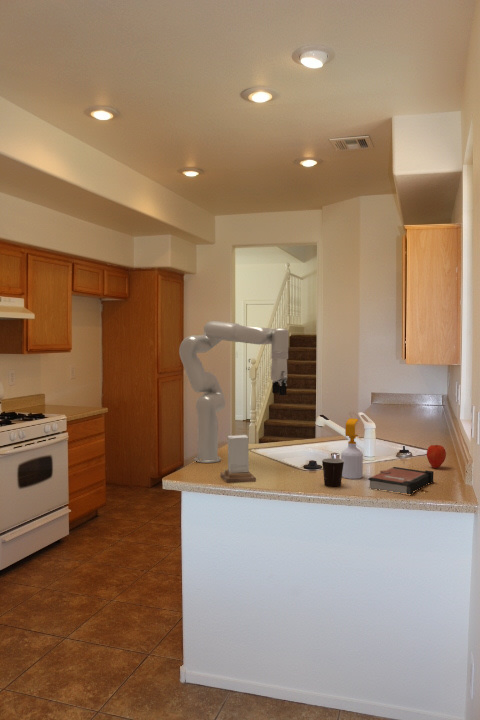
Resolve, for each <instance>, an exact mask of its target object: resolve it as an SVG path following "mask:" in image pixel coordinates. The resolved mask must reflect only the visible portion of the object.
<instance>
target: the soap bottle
mask: <svg viewBox="0 0 480 720" xmlns="http://www.w3.org/2000/svg"><path fill="white" fill-rule="evenodd" d="M358 421H359V419H358V418H352V417H351V418H348V419H347V421H346V422H345V432H344V433H345V437H348V438H349V441H347V443H348V444H347V447H345V448H344V449H343V450H342V451H341V452H340V459H341V460H344V464H343V472H342V478H344V479H348V480H350V479H351V480H359V479H361V478H363V471H364V469H363V466H364V465H363V463H364V460H363V458H364V455H363V454H364V453H363V452H362V450H361V449H359V448H358V447H357V441H355V439H356V438H357V437H359V434H356V424H357V422H358Z"/></svg>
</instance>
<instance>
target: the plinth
mask: <svg viewBox="0 0 480 720" xmlns="http://www.w3.org/2000/svg"><path fill="white" fill-rule="evenodd" d="M220 477H221V478H222V479H223V480H224V481H225V482H226V483H227V484H228V483H232V484H234V483H248V482H252V483H253V482H256V481H257V477H255V475H254V474H252V472H251V471H249V472H242V473H230V472H229V470H228V469H224V472H223V471H222V472H220Z"/></svg>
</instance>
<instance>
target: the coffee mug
mask: <svg viewBox="0 0 480 720" xmlns="http://www.w3.org/2000/svg"><path fill="white" fill-rule="evenodd" d="M321 462H322V465H321V466H322V473H323V482H324V483H323V485H324V486H325V487H328V488H340V487H341V485H342V478H343V477H342V472H343V464H344V460H341V458H333V457H331V458H328V457H327V458H322V460H321Z"/></svg>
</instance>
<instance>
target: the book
mask: <svg viewBox="0 0 480 720" xmlns="http://www.w3.org/2000/svg"><path fill="white" fill-rule="evenodd" d="M434 474H435V473H434V471H432V470H417V469H410V468H404V467H397V466H394V467H391V468H388V469H386V470H380V472H379V473H377V474H375V475H373V476H371V477H369V478H368V481H369V487H368V488H371V489H370V490H374V489H377V490H376V491H379V489H380V490H387V491H393V492H400V493H407V494H412V493H413V491H415V490H417V489H419V488H421V487H423V486H424V487H425V485H426V484H428V483H431V482H433V483H434ZM431 484H432V483H431ZM428 485H429V484H428ZM426 486H427V485H426ZM424 487H423V488H424ZM421 489H422V488H421ZM419 490H420V489H419ZM417 491H418V490H417ZM413 494H414V493H413ZM413 494H412V495H413Z"/></svg>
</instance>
